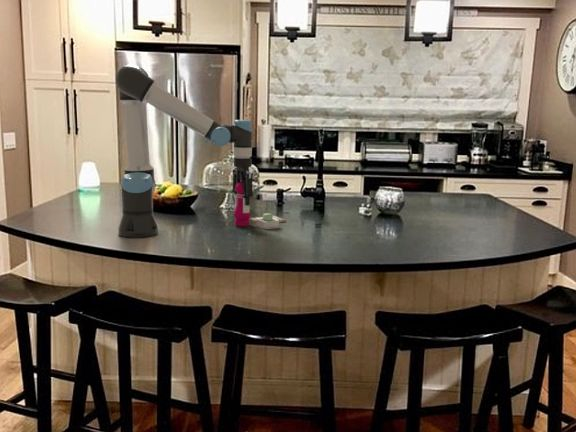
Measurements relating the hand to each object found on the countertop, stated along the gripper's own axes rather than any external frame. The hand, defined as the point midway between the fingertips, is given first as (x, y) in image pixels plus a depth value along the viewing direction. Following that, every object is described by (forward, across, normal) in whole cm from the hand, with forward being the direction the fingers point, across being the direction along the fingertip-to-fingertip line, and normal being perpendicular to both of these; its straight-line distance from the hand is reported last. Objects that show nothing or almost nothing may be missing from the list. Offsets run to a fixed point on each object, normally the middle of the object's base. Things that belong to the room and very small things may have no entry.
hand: (242, 211), depth 246 cm
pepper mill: (+6, 0, 0) cm, 6 cm away
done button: (+4, -8, -8) cm, 12 cm away
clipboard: (+6, +2, -14) cm, 15 cm away
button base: (+6, -8, -8) cm, 13 cm away
